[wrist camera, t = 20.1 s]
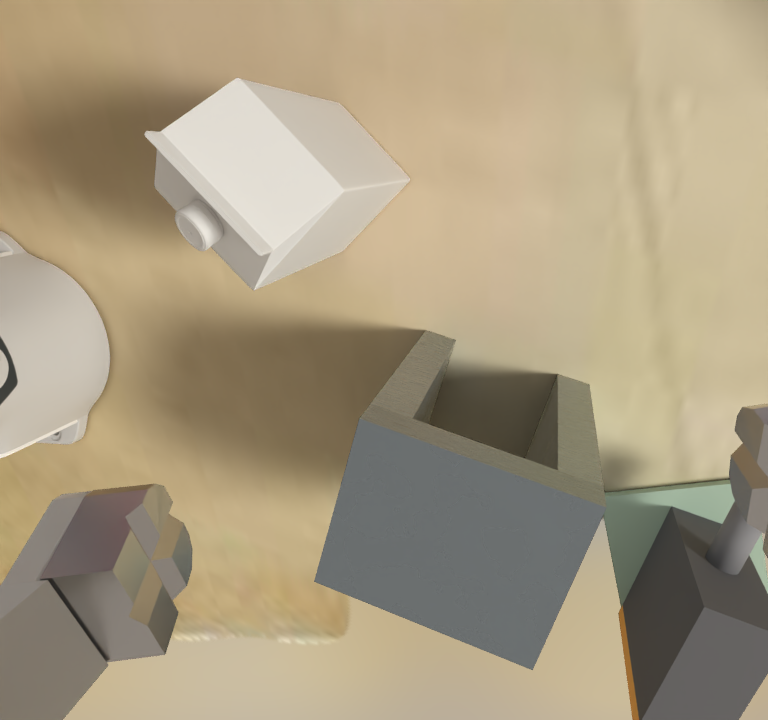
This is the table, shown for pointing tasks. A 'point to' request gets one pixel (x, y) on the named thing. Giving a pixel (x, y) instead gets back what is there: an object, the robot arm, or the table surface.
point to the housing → (465, 514)
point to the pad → (646, 515)
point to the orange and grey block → (696, 621)
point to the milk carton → (271, 178)
